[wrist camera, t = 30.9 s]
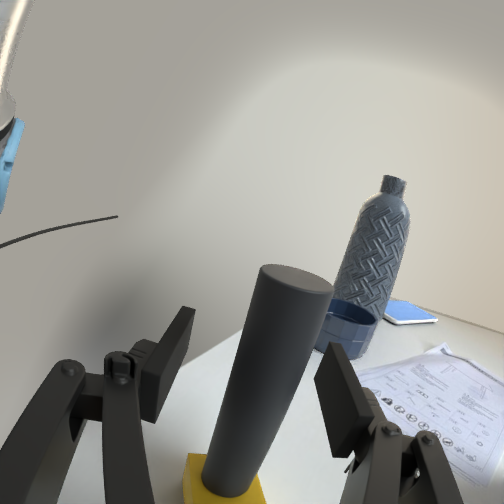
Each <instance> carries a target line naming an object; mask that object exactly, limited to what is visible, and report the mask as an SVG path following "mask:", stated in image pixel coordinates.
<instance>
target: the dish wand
mask: <svg viewBox="0 0 504 504" xmlns="http://www.w3.org/2000/svg"><path fill="white" fill-rule="evenodd" d="M333 293H334V287H333V286H332V285H331V284H330V283H329V282H327V281H326V280H324V279H323V278H321V277H319V276H317V275H315V274H312V273H310V272H307V271H304V270H301V269H297V268H293V267H289V266H284V265H276V264H268V265H263V266H262V267H261V268H260V270H259V274H258V278H257V282H256V285H255V289H254V292H253V296H252V299H251V303H250V307H249V310H248V314H247V318H246V321H245V325H244V328H243V332H242V335H241V339H240V342H239V346H238V349H237V353H236V356H235V360H234V364H233V367H232V371H231V374H230V378H229V381H228V385H227V388H226V391H225V395H224V398H223V402H222V405H221V409H220V412H219V416H218V419H217V423H216V426H215V429H214V433H213V436H212V440H211V443H210V446H209V450H208V453H207V454H194V453H188V457H187V461H186V466H185V470H184V475H183V479H182V484H183V496H184V504H266V501H265V498H264V495H263V491H262V488H261V485H260V481H259V478H258V475H257V472H258V470H259V468H260V466H261V464H262V462H263V460H264V458H265V456H266V454H267V452H268V450H269V448H270V446H271V444H272V442H273V440H274V438H275V436H276V434H277V432H278V430H279V428H280V425H281V423H282V421H283V419H284V417H285V415H286V412H287V410H288V408H289V406H290V403H291V401H292V399H293V397H294V394H295V392H296V390H297V387H298V385H299V383H300V380H301V378H302V375H303V373H304V371H305V368H306V366H307V363H308V361H309V358H310V356H311V353H312V351H313V348H314V345H315V343H316V340H317V338H318V335H319V332H320V330H321V327H322V324H323V322H324V319H325V316H326V313H327V311H328V308H329V305H330V302H331V299H332V296H333Z"/></svg>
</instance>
